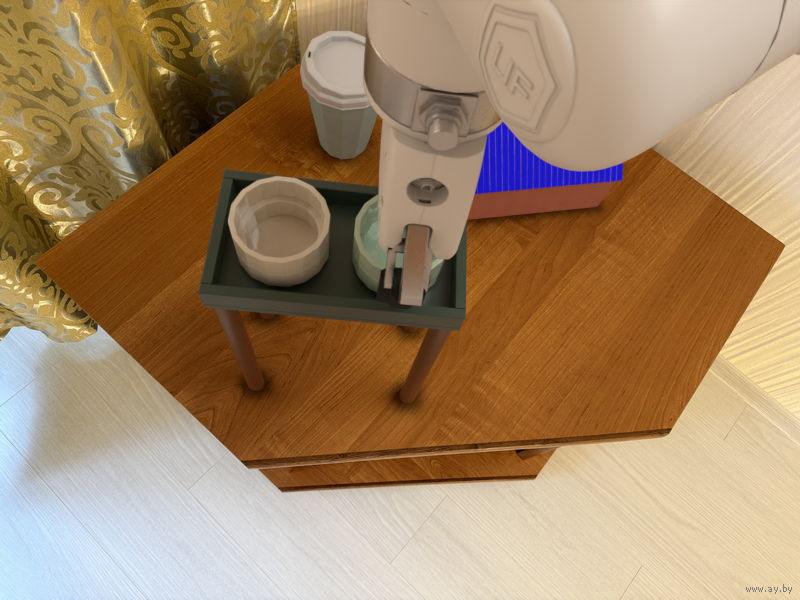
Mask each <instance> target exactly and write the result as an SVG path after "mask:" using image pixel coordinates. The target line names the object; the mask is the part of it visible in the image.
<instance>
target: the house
mask: <svg viewBox="0 0 800 600" xmlns="http://www.w3.org/2000/svg"><path fill="white" fill-rule="evenodd" d="M623 172H624V162H623V163H621V164H618V165H615V166H612V167H609V168H606V169H602V170H596V171H571V170H566V169H563V168H559V167H556V166H553V165H551V164H549V163H547V162H545V161H543V160H542V159H540V158H539V157H537V156H536V155H535V154H534V153H532V152H531V151H530V150H529V149H527V148H526V147H525V146H524V145H523V144H522V143H521V142H520V141H519V139H518V138H517V137H516V136H515V135H514V134H513V133H512V131H511V130H510V129H509V128H508V127H507V125H506V124H505V123H504V122H502V123H501V124H500V125H499V126H498V127H497V128H496V129H495V130H493V131H492V132H490V133H489V134H487V140H486V145H485V151H484V157H483V161H482V166H481V171H480V175H479V179H478V183H477V187H476V191H475V195H474V198H473V202H472V205H471V208H470V212H469V215H468V218H467V221H468V220H480V219H488V218H499V217H509V216H519V215H520V216H521V215H528V214H538V213H549V212H550V213H551V212H559V211H569V210H579V209H589V208H598V207H599V205H600V204H601V202H602V201H603V200H604V199H605V198H606V196H607V195H608V194H609V192H610V191H611V190H612V189H613V188H614V186H615V184H616V183H617V182H623Z"/></svg>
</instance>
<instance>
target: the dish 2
mask: <svg viewBox="0 0 800 600" xmlns="http://www.w3.org/2000/svg"><path fill="white" fill-rule="evenodd" d="M378 197H379V194H378V195H376V196H375V197H374V198H372V199H371V200H369V201H368V202H366V203H365V204H364V205H363V207H362V209H361V210H360V212H359V213H358V215H357V217H356V220H355V230H354V241H353V253H352V262H353V265H354V267H355V270H356V273H357V275H358V277H359V278H360V279H361V280H362V281H363V282H364V284H365V285H366V286H367V287H368V288H369V289H371V290H373V291H375V292H377V289H378V284H379V278H380V273H381V270H383V269H385V268H386V260H387V253H386V252H384V251H383V250H382V248H381V247H380V246H379V234H378ZM405 237H406V228H404V233H403V237H402V238H405ZM387 252H388V251H387ZM403 257H404V253H397V255H396V263H395V267H398V268H402V267H403ZM445 260H446V259H436V258H435V257H434V255H433V260H432V266H431V272H430V275H431V276H430V284H429V287H431V286H432V285H433V284H434V283H435V282H436V280H437V278H438V276H439V274H440V272H441V270H442V267H443V265H444V262H445ZM429 287H428V288H429Z"/></svg>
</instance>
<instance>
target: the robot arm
mask: <svg viewBox="0 0 800 600" xmlns="http://www.w3.org/2000/svg"><path fill="white" fill-rule="evenodd" d="M366 11H367V12H366V24H365V25H366V26H365V37H366V38H365V52H364V67H363V85H364V91H365V94H366V96H367V98H368V101H369V102H370V104H371V106H372V107H373V109H374V110H375V111H376V113H377V114H378V115H377V116H379V118H380V119H381V120H382V123H381V132H380V133H381V134H380V146H379V147H380V149H379V165H378V166H379V167H378V187H379V197H378V234H379V246H380V247H381V248H382V250H383V251H384V252H386V253H387V260H386V268H385V269H383V270H381V273H380V278H379V284H378V289H377V298H376V300H377V301H378V302H382V303H389V306H390V307H392V308H396V309H409V308H411V307H412V305H413V306H421V305H422V303H423V300H424V299H425V295H426V292H427V291H428V287H429V284H430V276H431V275H430V272H431V266H432V260H433V255H434V257H435V258H436V259H450V258H451V257H453V256H454V255H455V253H456V252H457V249H458V246H459V243H460V240H461V237H462V234H463V231H464V227H465V224H466V221H467V222H468V220H467V218H468V215H469V212H470V208H471V205H472V202H473V198H474V195H475V191H476V187H477V183H478V179H479V175H480V171H481V166H482V161H483V157H484V151H485V145H486V140H487V134H489V133H490V132H492V131H493V130H495V129H496V128H497V127H498V126H499V125H500V124H501V123H502V122H504V123H505V124H506V125H507V127H508V128H509V129H510V130H511V131H512V133H513V134H514V135H515V136H516V137H517V138H518V139H519V141H520V142H521V143H522V144H523V145H524V146H525V147H526V148H527V149H529V150H530V151H531V152H532V153H534V154H535V155H536V156H537V157H539V158H540V159H542V160H543V161H545V162H547V163H549V164H551V165H553V166H556V167H559V168H563V169H566V170H571V171H596V170H602V169H606V168H609V167H612V166H615V165H618V164H621V163H623V164H624V163H625V162H628V161H629V160H632V159H633V158H635V157H637V156H639V155H641V154H643V153H645V152H646V151H648V150H650V149H651V148H653V147H655V146H656V145H658V144H659V143H660V142H662V141H663V140H665V139H667V138H668V137H670V136H671V135H673V134H674V133H676V132H677V131H679V130H681V129H682V128H683V127H685V126H686V125H688V124H690V123H691V122H693V121H695V120H696V119H697V118H699V117H700V116H702V115H703V114H705V113H706V112H708V111H709V110H711V109H712V108H714V107H715V106H717V105H718V104H720V103H722V102H723V101H724V100H726V99H727V98H728V97H730V96H732V95H733V94H735V93H737V92H739V91H740V90H742V89H744V87H746V86H747V85H749V84H750V83H752V82H754V81H755V80H757V79H758V78H759V77H761V76H762V75H764V74H765V73H767V72H769V71H770V70H772V69H773V68H775V67H777V66H778V65H780V64H781V63H783V62H784V61H786V60H788V59H789V58H791V57H792V56H794V55H796V56H800V0H368V1H367V10H366ZM404 228H406V237H405V238H402V237H403V233H404ZM387 251H388V252H387ZM397 253H404V257H403V267H402V268H398V267H395V263H396V255H397Z"/></svg>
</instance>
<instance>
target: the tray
mask: <svg viewBox="0 0 800 600" xmlns="http://www.w3.org/2000/svg"><path fill="white" fill-rule="evenodd" d="M275 176H281V177H290V178H297V179H299V180H301V181H303V182H305V183H307V184H309V185H311V186H313V187H314V188H315V189H316V190H317V191H318V192H319V193H320V194H321V195H322V197H323V198H324V199H325V201H326V203H327V206H328V209H329V212H330V248H329V257H328V259H327V261H326V262H325V264H324V265H323V267H322V269H321V270H320V271H319V273H317V274H316V275H314V276H313V277H312V278H310V279H309V280H307V281H306V282H304V283H301V284H297V285H293V286H289V287H281V286H271V285H266V284H264V283H262V282H260V281H258V280H256V279H254V278H252V277H251V276H250V275H249V274H248V273H247V272H246V270H245V269H244V268H243V267H242V266H241V264H240V262H239V259H238V256H237V252H236V249H235V245H234V242H233V239H232V235H231V231H230V228H229V224H228V218H229V213H230V208H231V205H232V203H233V201H234V200H235V199H236V197H237V196H238V195H239V193H240V192H241V191H242V190H243V189H244V188H246V187H248V186H249V185H251V184H252V183H254V182H256V181H257V180H261V179H265V178H270V177H275ZM378 194H379V185H378V186H376V185H370V184H369V185H368V184H360V183H349V182H341V181H334V180H333V181H332V180H323V179H317V178H316V179H315V178H306V177H299V176H298V177H297V176H288V175H280V174H271V173H261V172H252V171H244V170H235V169H226V168H225V169H224V171H223V176H222V179H221V184H220V189H219V194H218V199H217V204H216V207H215V212H214V217H213V222H212V226H211V231H210V236H209V241H208V245H207V249H206V254H205V260H204V263H203V269H202V272H201V277H200V281H199V282H200V283H199V286H198V291H197V293H198V296H199V298H200V300H201V302H202V305H203V306H204V308H207V309H213V312H214V314H215V316H216V318H217V321H218V322H219V324H220V327H221V329H222V332H223V334H224V337H225V338H226V340H227V342H228V345H229V347H230V350H231V351H232V353H233V356H234V358H235V360H236V363H237V365H238V367H239V370H240V371H241V374H242V376H243V378H244V381H245V383H246V385H247V387H248V389H249V390H251V391H252V392H258V391H262V390H263V388H264V386H265V379H264V376H263V374H262V371H261V368H260V365H259V362H258V359H257V357H256V354H255V351H254V348H253V346H252V342H251V339H250V337H249V333H248V331H247V328H246V324H245V322H244V319H243V316H242V313H241V312H248V313H249V312H250V313H259V316H260V318H262V319H263V320H271V319H273V318H274V317H275V315H280V316H292V317H301V318H302V317H303V318H314V319H324V320H336V321H345V322H355V323H356V322H357V323H367V324H375V325H376V324H377V325H387V326H388V325H389V326H399V327H400V326H401V327H403V329H404V331H405V332H407V333H408V334H409V333H410V334H413V333H416V332H417V331H418V329H419V328H420V329H427V330H426V333H425V335H424V337H423V338H422V342H421V343H420V347H419V348H418V351H417V352H416V355H415V358H414V359H413V362H412V364H411V366H410V369H409V371H408V373H407V376H406V378H405V381H404V382H403V385H402V387H401V390H400V392H399V400H400V401H401V402H402V403H403V404H405V405H410V404H412V403H414V401H415V400H416V397H417V396H418V394H419V392H420V390H421V388H422V387H423V385H424V383H425V381H426V379H427V377H428V375H429V374H430V372H431V370H432V368H433V367H434V365H435V363H436V361H437V360H438V357H439V356H440V354H441V352H442V350H443V348H444V346H445V344H446V343H447V341H448V339H449V337H450V335H451V334H452V332H459V331H460V329H461V328H462V326H463V324H464V323H465V321H466V318H467V310H466V309H467V264H468V263H467V262H468V261H467V256H468V254H467V253H468V251H467V250H468V249H467V247H468V220H467V221H466V224H465V227H464V231H463V234H462V237H461V240H460V243H459V246H458V249H457V252H456V253H455V255H454V256H453V257H451V258H450V259H446V260H445V262H444V265H443V267H442V270H441V272H440V274H439V276H438V278H437V280H436V282H435V283H434V284H433V285H432V286H431V287H429V288H428V291H427V292H426V295H425V299H424V300H423V303H422V305H421V306H413V305H412V307H411V308H409V309H396V308H392V307H390V306H389V303H382V302H378V301H377V300H376V298H377V292H375V291H373V290H371V289H369V288H368V287H367V286H366V285H365V284H364V282H363V281H362V280H361V279H360V278H359V277H358V275H357V273H356V270H355V267H354V265H353V262H352V253H353V241H354V230H355V220H356V217H357V215H358V213H359V212H360V210H361V209H362V207H363V205H364V204H365V203H366V202H368V201H369V200H371V199H372V198H374V197H375V196H376V195H378Z"/></svg>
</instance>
